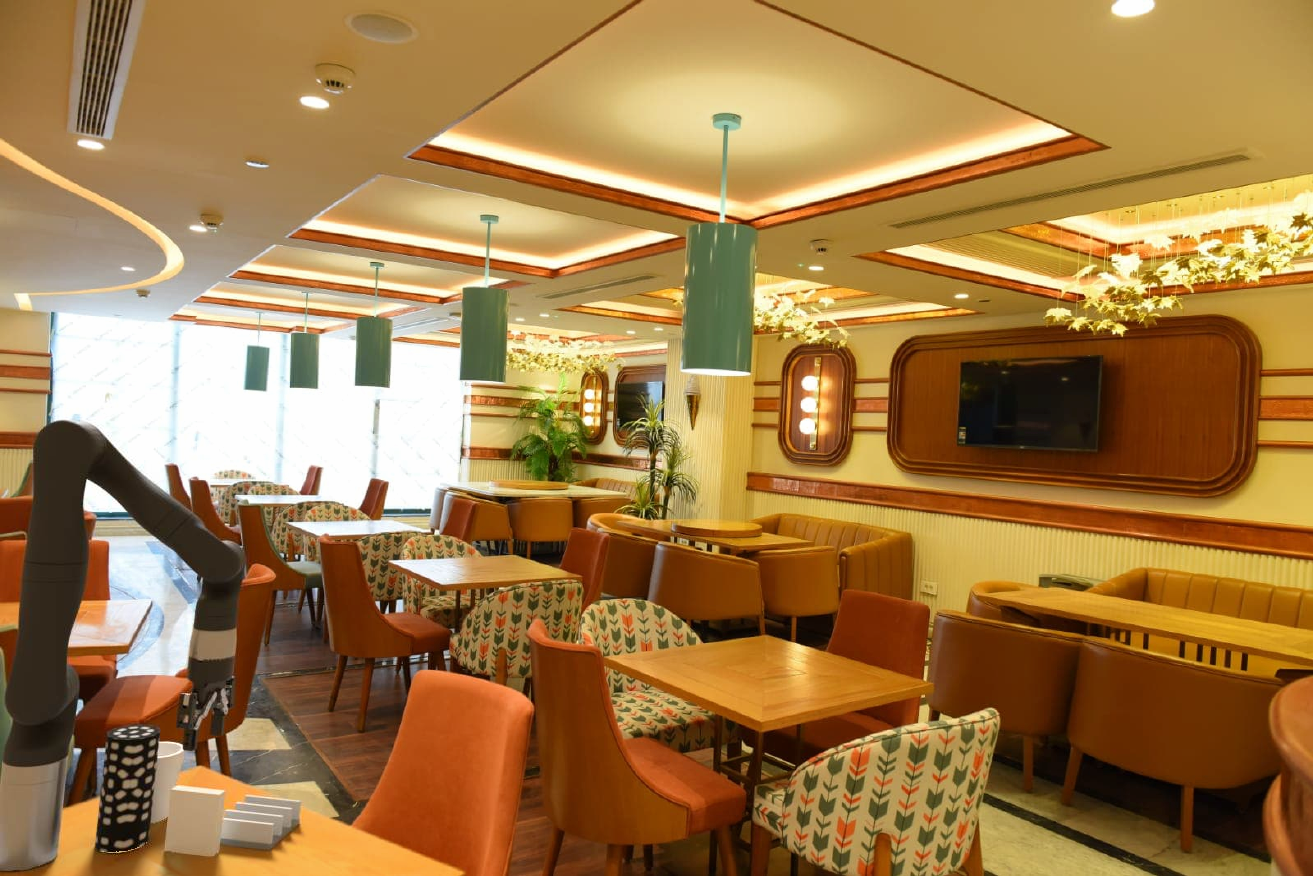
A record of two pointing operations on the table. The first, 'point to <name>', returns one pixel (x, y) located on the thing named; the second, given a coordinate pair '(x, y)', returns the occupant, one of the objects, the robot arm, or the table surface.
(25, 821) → the robot arm
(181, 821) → the cream upright slab
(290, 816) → the dish rack
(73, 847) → the table surface
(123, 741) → the spotted tube
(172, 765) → the foam cup
